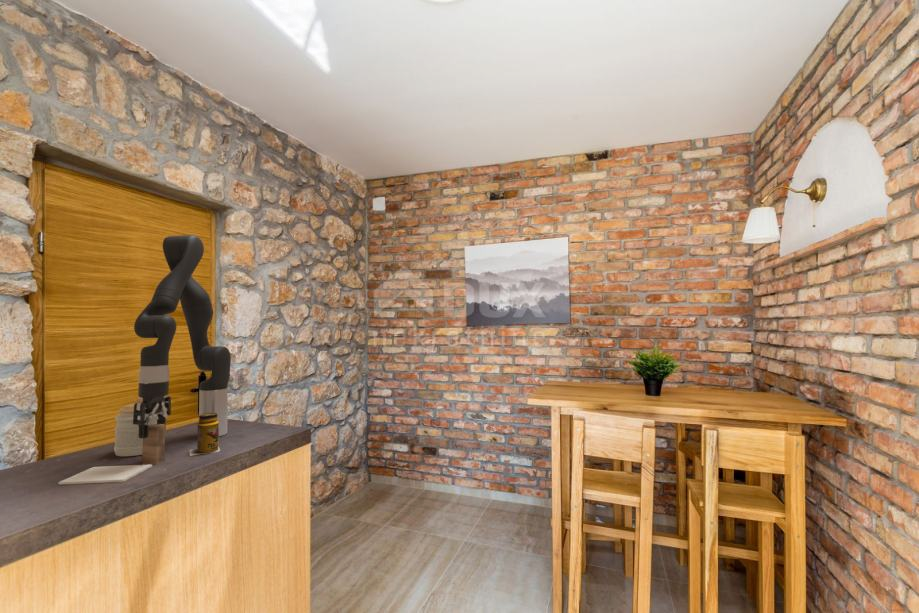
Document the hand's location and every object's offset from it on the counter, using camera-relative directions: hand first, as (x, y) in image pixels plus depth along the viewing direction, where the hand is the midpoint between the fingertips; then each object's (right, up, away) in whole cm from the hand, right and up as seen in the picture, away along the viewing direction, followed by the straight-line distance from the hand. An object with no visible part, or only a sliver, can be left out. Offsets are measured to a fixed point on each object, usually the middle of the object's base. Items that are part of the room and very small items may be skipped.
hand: (152, 434), depth 128 cm
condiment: (+9, -9, +11) cm, 17 cm away
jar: (-13, -9, +12) cm, 20 cm away
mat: (-5, -8, -10) cm, 14 cm away
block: (0, -9, 0) cm, 9 cm away
